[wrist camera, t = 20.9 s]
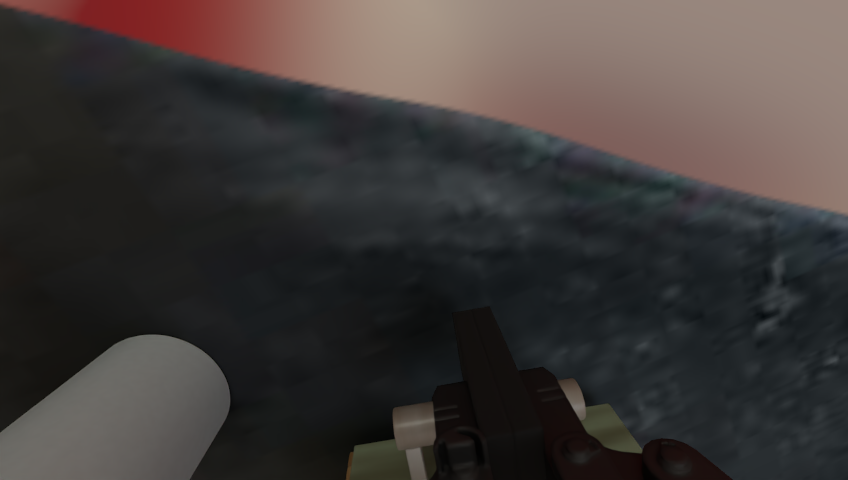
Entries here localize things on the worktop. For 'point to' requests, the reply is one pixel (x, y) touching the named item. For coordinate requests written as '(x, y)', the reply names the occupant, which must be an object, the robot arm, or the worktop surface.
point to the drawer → (415, 433)
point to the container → (123, 417)
